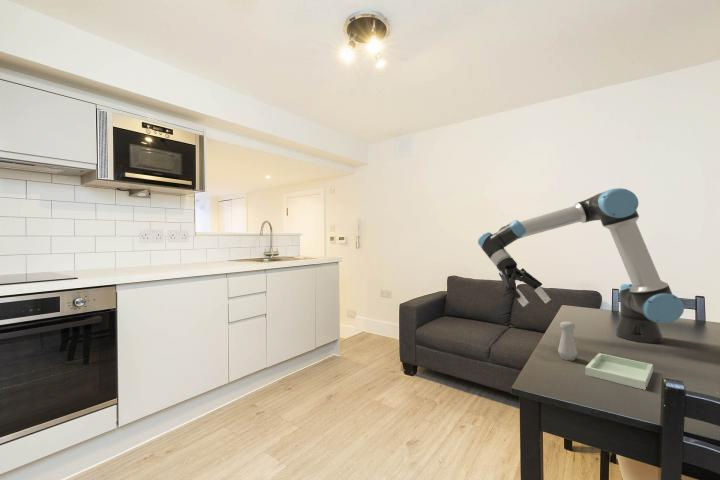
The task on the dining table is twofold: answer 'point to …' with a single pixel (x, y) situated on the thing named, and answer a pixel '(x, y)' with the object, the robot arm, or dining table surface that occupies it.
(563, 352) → the salt shaker
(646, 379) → the tray
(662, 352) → the dining table surface
